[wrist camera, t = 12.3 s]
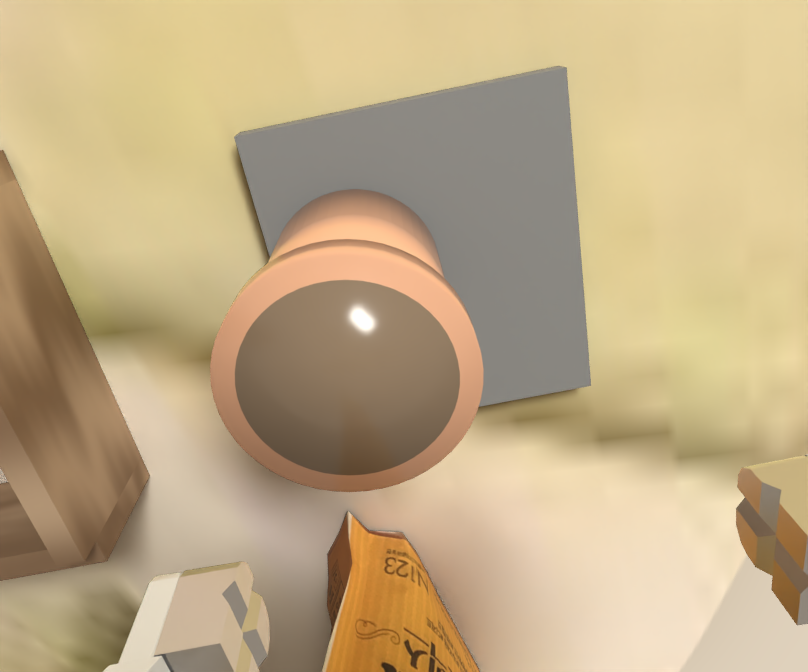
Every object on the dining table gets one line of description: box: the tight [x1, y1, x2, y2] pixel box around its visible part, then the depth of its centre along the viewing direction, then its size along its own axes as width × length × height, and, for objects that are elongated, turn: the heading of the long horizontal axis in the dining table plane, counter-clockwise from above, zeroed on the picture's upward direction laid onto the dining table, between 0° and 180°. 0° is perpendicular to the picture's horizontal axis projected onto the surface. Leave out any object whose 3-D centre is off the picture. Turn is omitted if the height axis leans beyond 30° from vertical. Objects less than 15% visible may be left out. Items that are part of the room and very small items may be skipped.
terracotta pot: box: [210, 189, 483, 492], centre depth 20 cm, size 7×7×8 cm
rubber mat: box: [234, 66, 591, 407], centre depth 24 cm, size 12×11×1 cm
